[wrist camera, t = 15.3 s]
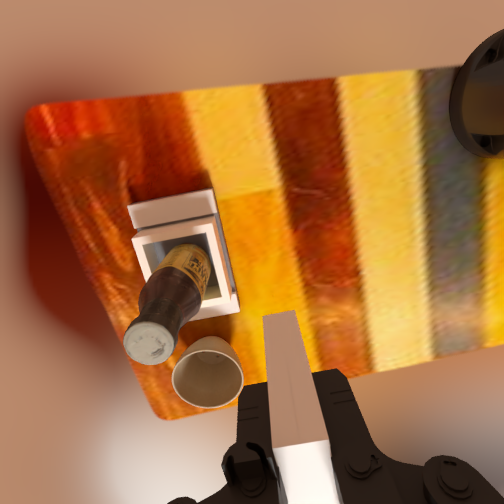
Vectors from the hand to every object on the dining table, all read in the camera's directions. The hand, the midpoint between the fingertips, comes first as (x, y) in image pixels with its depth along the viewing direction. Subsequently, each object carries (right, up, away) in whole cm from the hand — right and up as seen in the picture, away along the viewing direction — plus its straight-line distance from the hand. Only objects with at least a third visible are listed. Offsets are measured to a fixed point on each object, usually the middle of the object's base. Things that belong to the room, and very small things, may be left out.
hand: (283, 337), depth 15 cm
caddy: (-10, +3, +30) cm, 32 cm away
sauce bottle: (-10, +3, +29) cm, 30 cm away
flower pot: (-8, -11, +35) cm, 38 cm away
